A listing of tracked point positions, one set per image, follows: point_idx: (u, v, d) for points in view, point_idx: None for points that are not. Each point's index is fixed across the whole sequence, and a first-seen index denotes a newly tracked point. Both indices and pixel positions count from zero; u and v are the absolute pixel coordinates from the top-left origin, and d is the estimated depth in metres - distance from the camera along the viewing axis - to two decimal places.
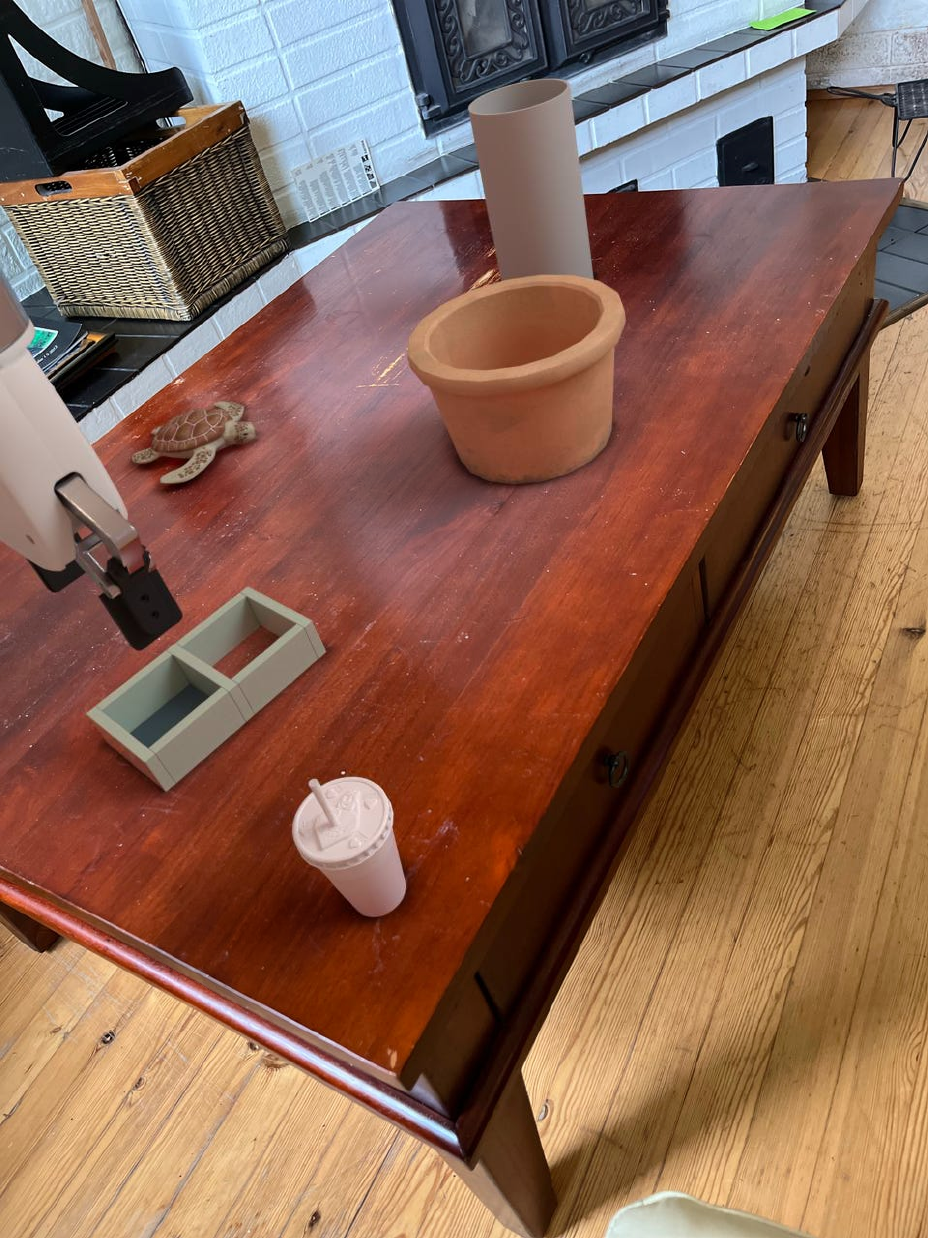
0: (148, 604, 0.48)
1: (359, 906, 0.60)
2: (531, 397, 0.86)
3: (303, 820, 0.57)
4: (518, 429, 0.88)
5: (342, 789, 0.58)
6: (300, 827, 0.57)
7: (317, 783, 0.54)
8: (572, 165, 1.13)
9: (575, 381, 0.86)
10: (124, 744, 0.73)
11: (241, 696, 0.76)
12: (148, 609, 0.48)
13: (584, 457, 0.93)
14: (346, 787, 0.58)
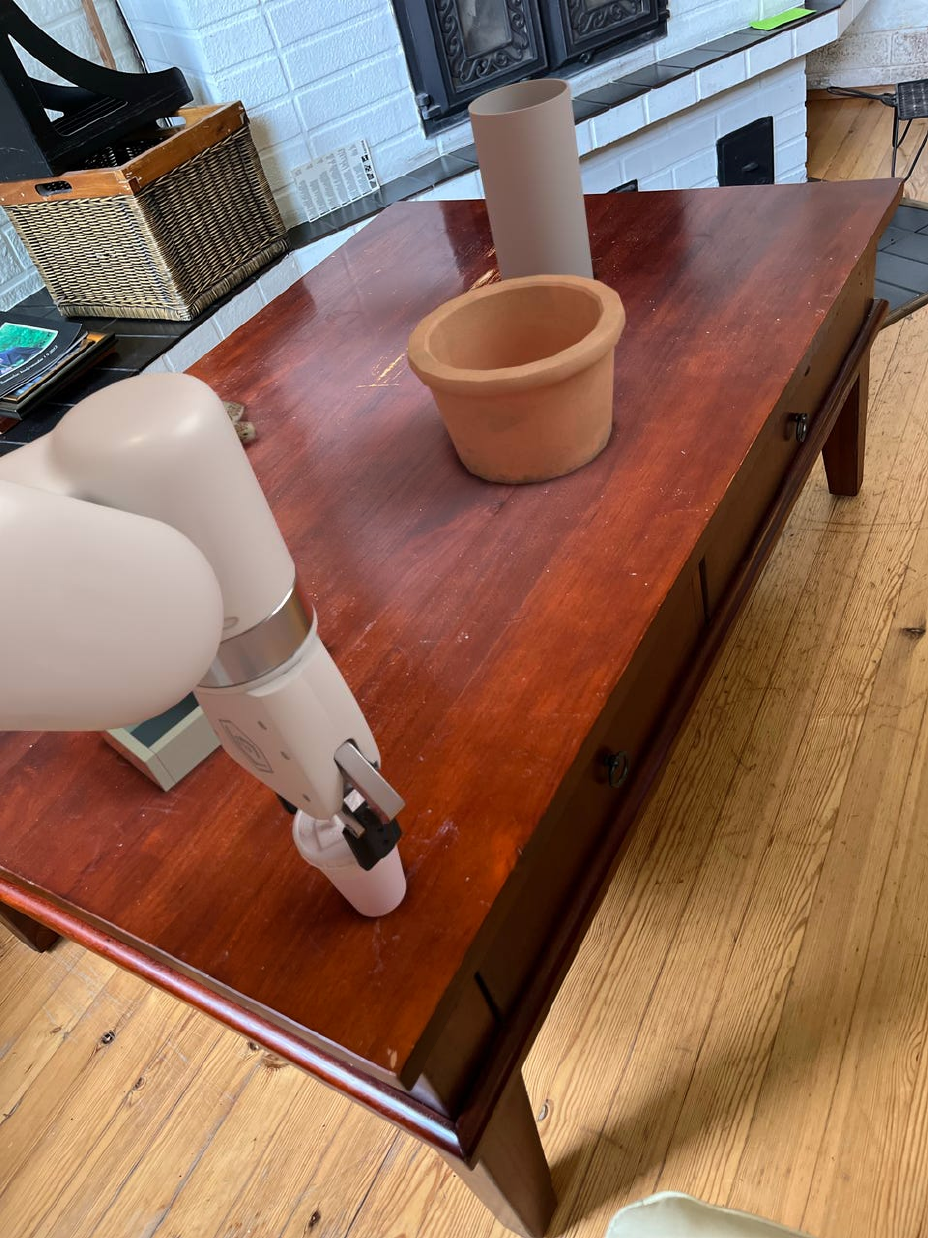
0: (382, 835, 0.53)
1: (359, 906, 0.60)
2: (531, 397, 0.86)
3: (303, 820, 0.57)
4: (518, 429, 0.88)
5: None
6: (300, 827, 0.57)
7: None
8: (572, 165, 1.13)
9: (575, 381, 0.86)
10: (124, 744, 0.73)
11: None
12: (382, 839, 0.53)
13: (584, 457, 0.93)
14: None
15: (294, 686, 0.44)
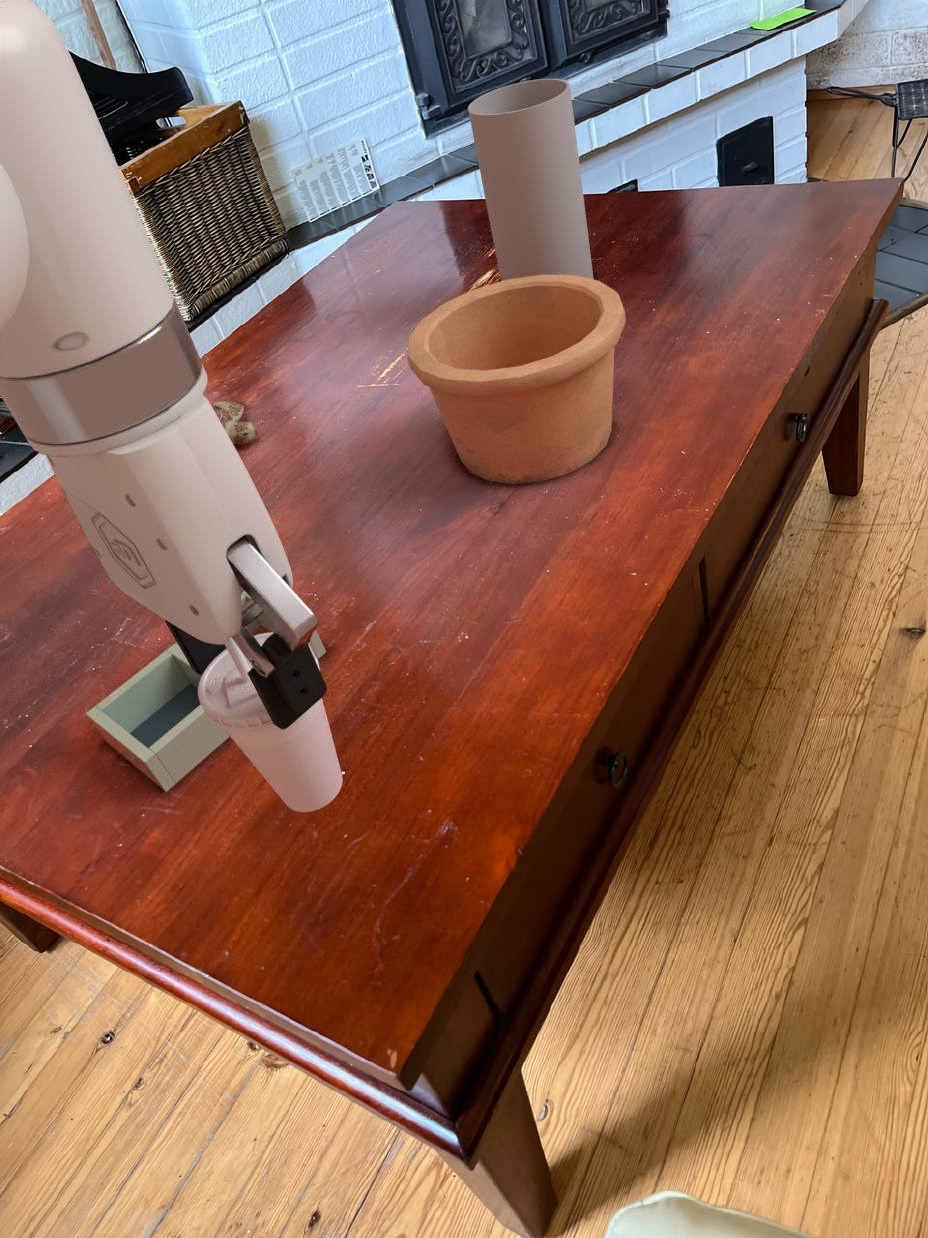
0: (298, 681, 0.44)
1: (281, 789, 0.51)
2: (531, 397, 0.86)
3: (212, 678, 0.48)
4: (518, 429, 0.88)
5: (261, 645, 0.49)
6: (208, 685, 0.48)
7: None
8: (572, 165, 1.13)
9: (575, 381, 0.86)
10: (124, 744, 0.73)
11: None
12: (298, 686, 0.44)
13: (584, 457, 0.93)
14: None
15: (168, 444, 0.34)
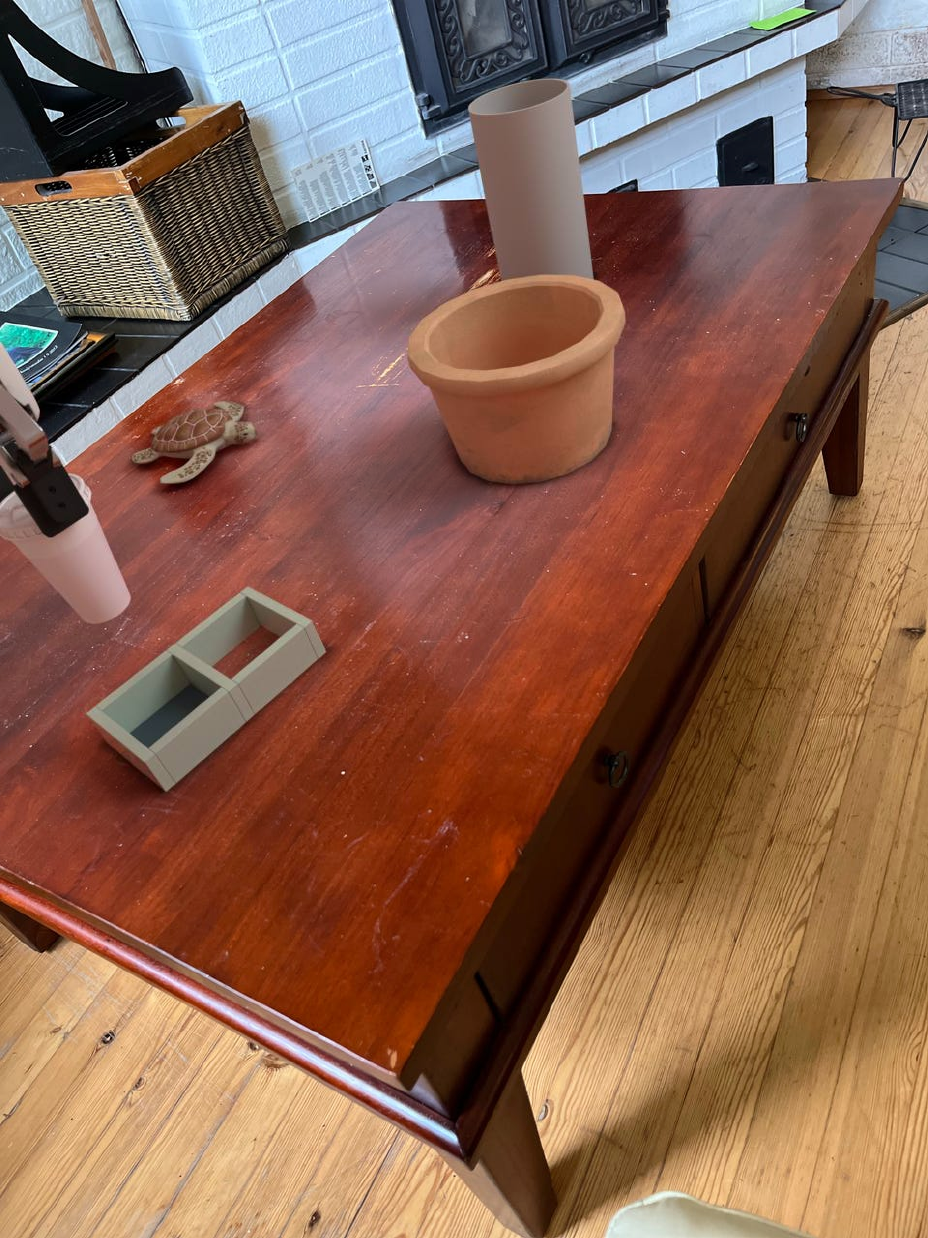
0: (55, 495, 0.57)
1: (72, 601, 0.64)
2: (531, 397, 0.86)
3: (6, 505, 0.61)
4: (518, 429, 0.88)
5: None
6: (1, 510, 0.61)
7: None
8: (572, 165, 1.13)
9: (575, 381, 0.86)
10: (124, 744, 0.73)
11: (241, 696, 0.76)
12: (55, 500, 0.57)
13: (584, 457, 0.93)
14: None
15: None
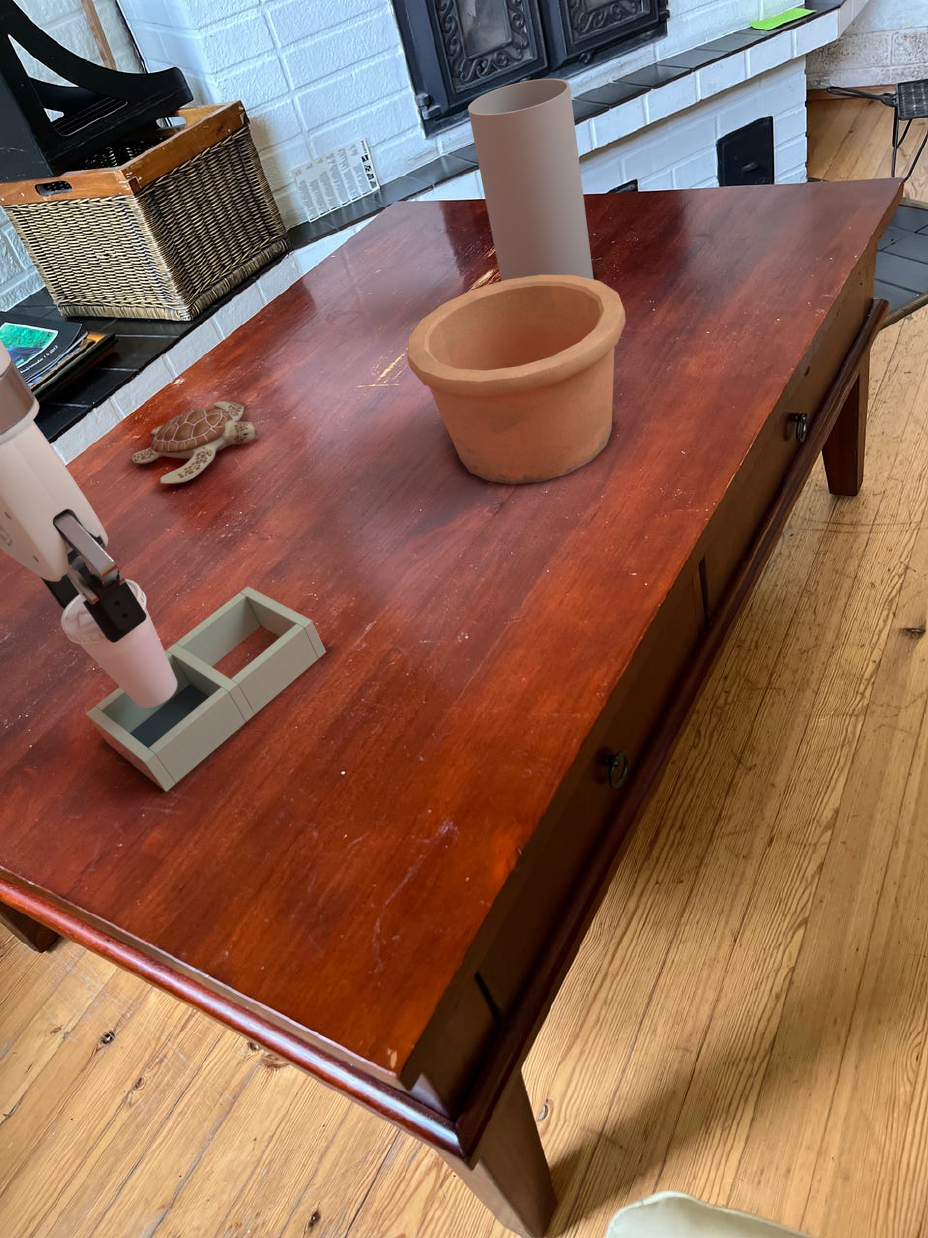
0: (119, 608, 0.65)
1: (127, 690, 0.72)
2: (531, 397, 0.86)
3: (72, 610, 0.69)
4: (518, 429, 0.88)
5: None
6: (68, 614, 0.69)
7: None
8: (572, 165, 1.13)
9: (575, 381, 0.86)
10: (124, 744, 0.73)
11: (241, 696, 0.76)
12: (119, 612, 0.65)
13: (584, 457, 0.93)
14: None
15: (6, 453, 0.56)
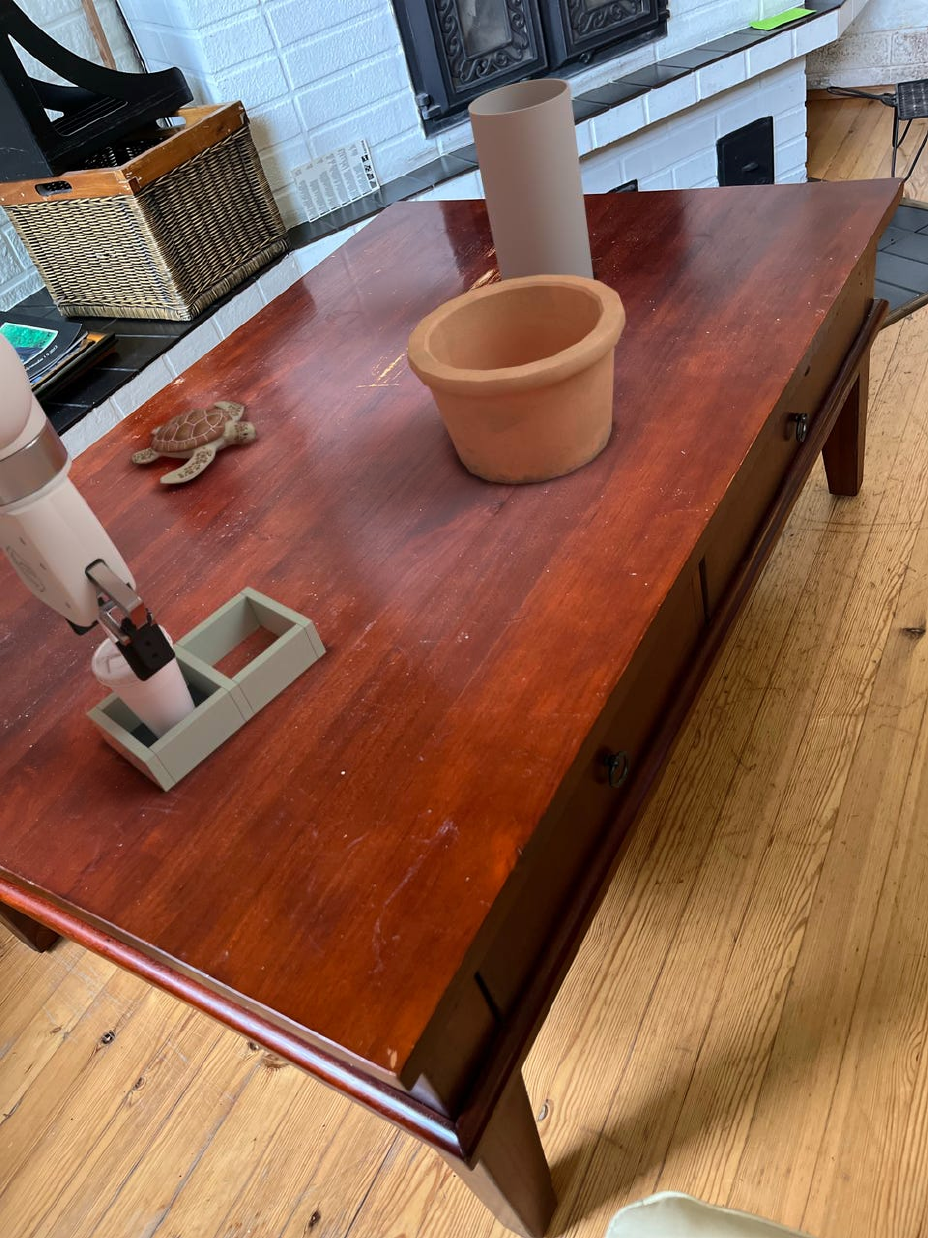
0: (150, 648, 0.66)
1: (153, 728, 0.75)
2: (531, 397, 0.86)
3: (101, 653, 0.72)
4: (518, 429, 0.88)
5: None
6: (98, 657, 0.72)
7: None
8: (572, 165, 1.13)
9: (575, 381, 0.86)
10: (124, 744, 0.73)
11: (241, 696, 0.76)
12: (150, 652, 0.66)
13: (584, 457, 0.93)
14: None
15: (42, 508, 0.58)
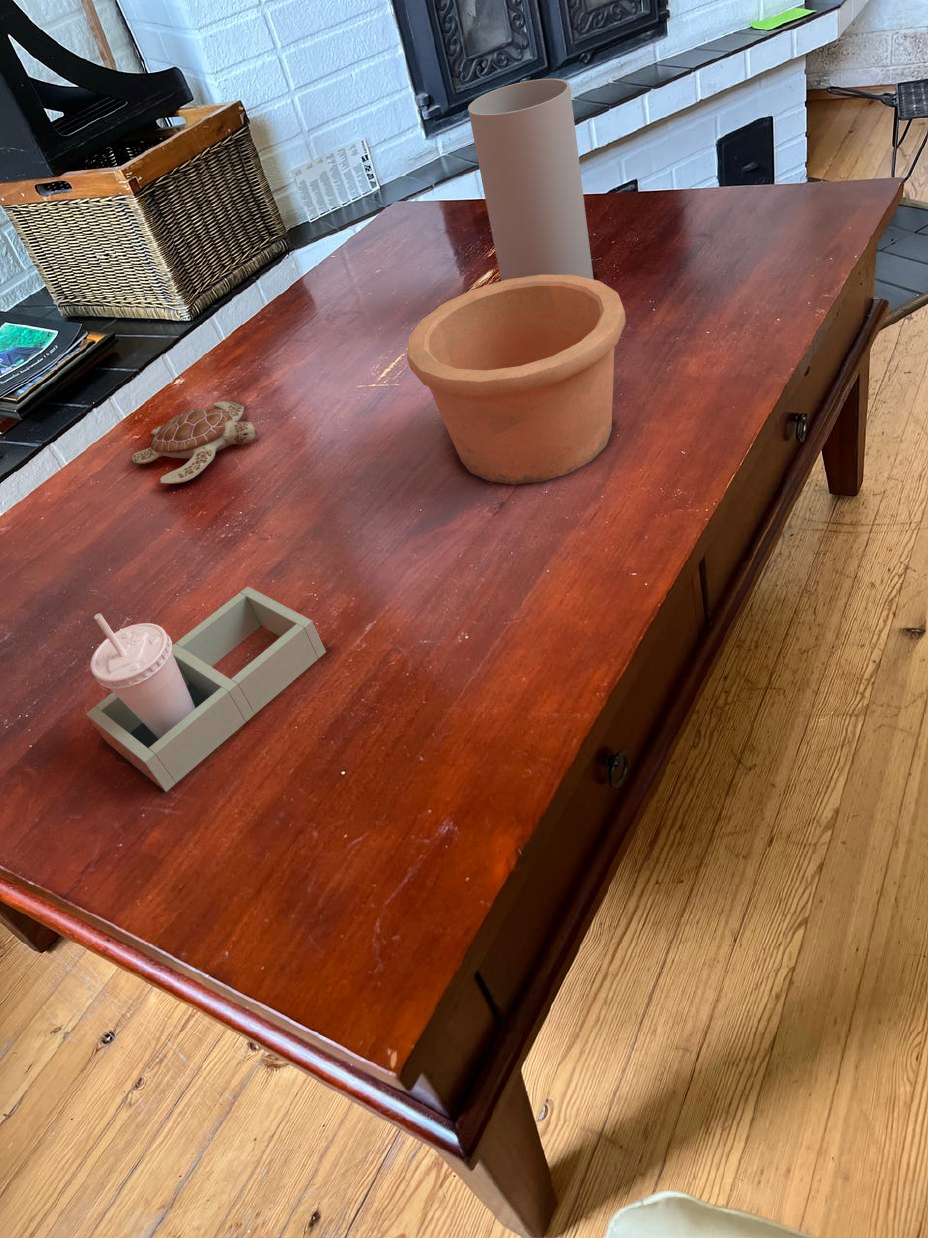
0: None
1: (153, 729, 0.75)
2: (531, 397, 0.86)
3: (101, 654, 0.72)
4: (518, 429, 0.88)
5: (135, 631, 0.73)
6: (97, 658, 0.72)
7: (100, 616, 0.69)
8: (572, 165, 1.13)
9: (575, 381, 0.86)
10: (124, 744, 0.73)
11: (241, 696, 0.76)
12: None
13: (584, 457, 0.93)
14: (138, 630, 0.73)
15: None
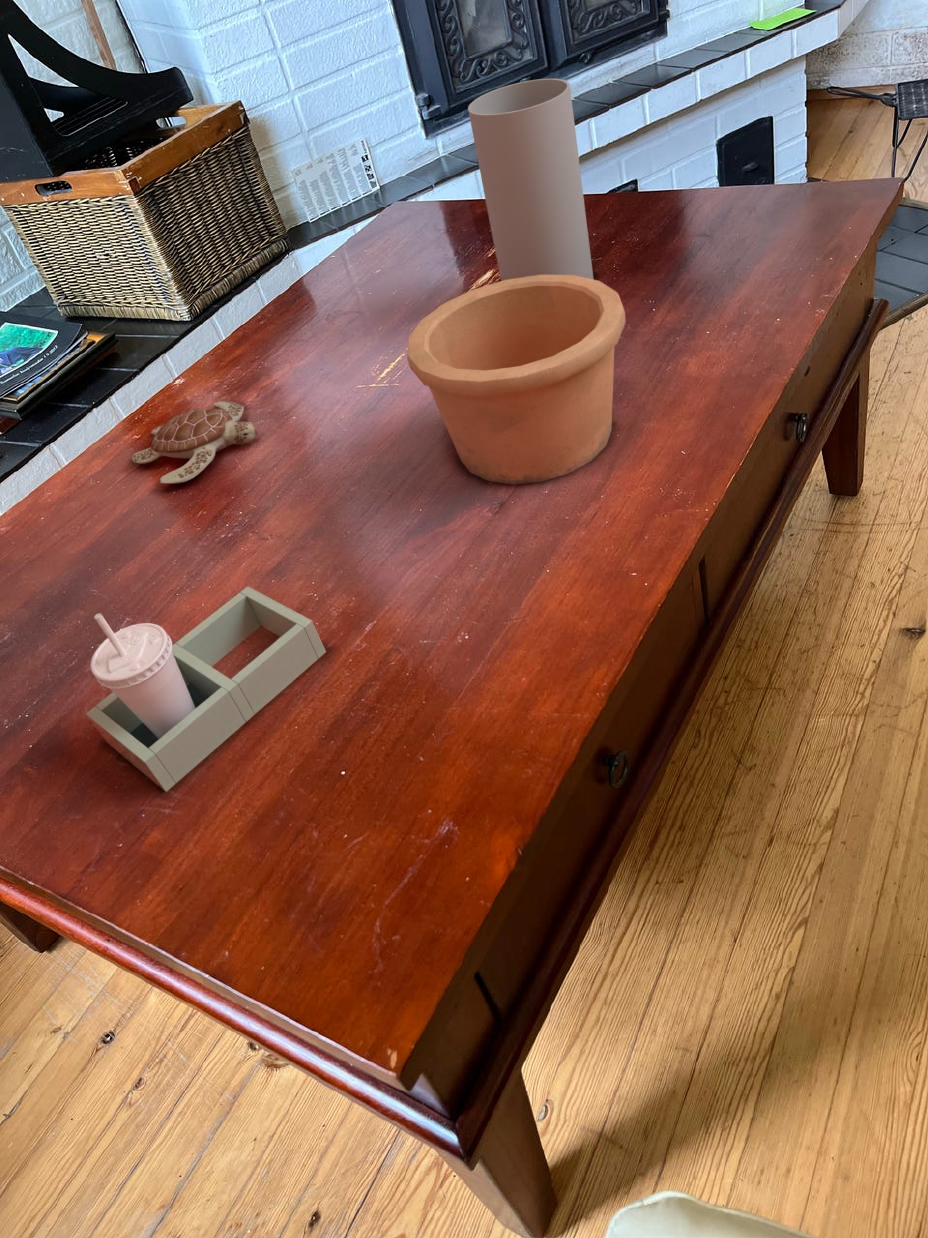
0: None
1: (153, 729, 0.75)
2: (531, 397, 0.86)
3: (101, 654, 0.72)
4: (518, 429, 0.88)
5: (135, 631, 0.73)
6: (97, 658, 0.72)
7: (101, 616, 0.69)
8: (572, 165, 1.13)
9: (575, 381, 0.86)
10: (124, 744, 0.73)
11: (241, 696, 0.76)
12: None
13: (584, 457, 0.93)
14: (138, 630, 0.74)
15: None
